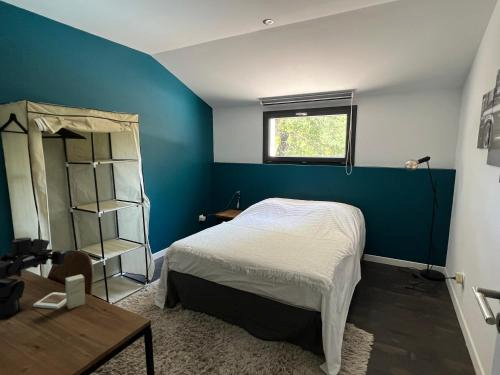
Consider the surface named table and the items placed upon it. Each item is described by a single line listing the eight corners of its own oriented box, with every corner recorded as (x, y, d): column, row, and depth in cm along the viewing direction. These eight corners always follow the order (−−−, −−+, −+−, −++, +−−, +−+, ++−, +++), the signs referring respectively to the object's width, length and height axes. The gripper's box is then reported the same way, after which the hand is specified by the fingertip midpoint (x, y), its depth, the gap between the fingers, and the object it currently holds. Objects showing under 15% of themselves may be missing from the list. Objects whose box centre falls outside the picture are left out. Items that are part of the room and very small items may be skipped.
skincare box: (68, 309, 112) (67, 281, 110) (66, 305, 115) (64, 278, 113) (85, 303, 116) (84, 277, 114) (83, 299, 119) (81, 273, 118)
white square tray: (57, 308, 112) (57, 305, 112) (33, 306, 113) (33, 303, 113) (75, 296, 122) (75, 293, 122) (53, 294, 123) (52, 291, 123)
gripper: (48, 245, 113) (78, 237, 128) (11, 240, 116) (44, 232, 131) (47, 271, 113) (77, 260, 129) (10, 265, 116) (43, 255, 132)
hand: (60, 251), depth 130 cm, fingers open, 9 cm apart
